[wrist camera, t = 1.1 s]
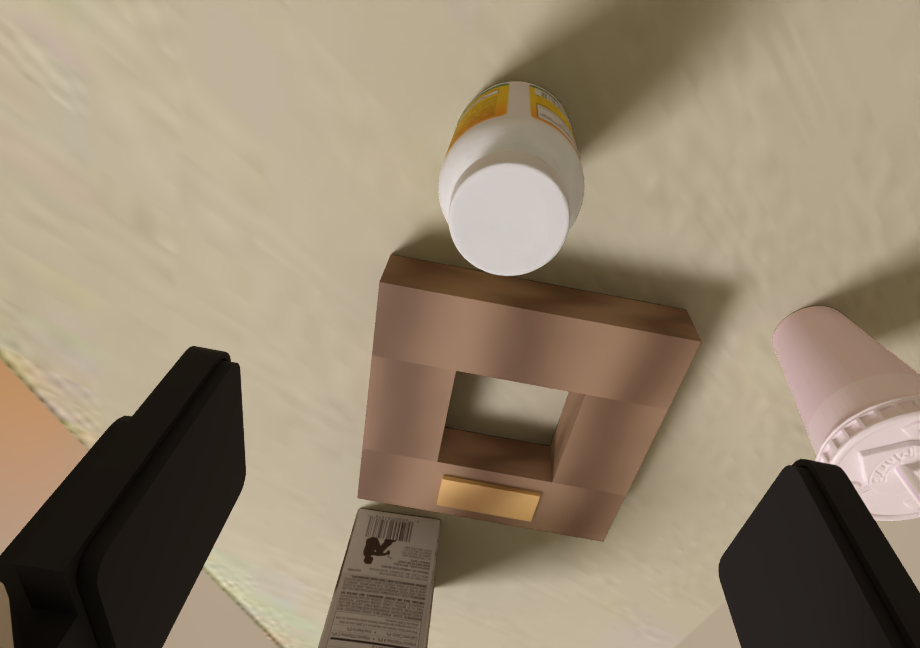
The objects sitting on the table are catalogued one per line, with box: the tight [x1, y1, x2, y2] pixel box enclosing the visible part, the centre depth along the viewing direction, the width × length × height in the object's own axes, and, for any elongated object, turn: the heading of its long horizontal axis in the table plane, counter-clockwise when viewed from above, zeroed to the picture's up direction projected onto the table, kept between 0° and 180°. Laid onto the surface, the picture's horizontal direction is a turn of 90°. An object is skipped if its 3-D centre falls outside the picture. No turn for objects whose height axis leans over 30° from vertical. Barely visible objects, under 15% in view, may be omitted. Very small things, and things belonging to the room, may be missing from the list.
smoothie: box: [773, 306, 920, 521], centre depth 25 cm, size 6×6×14 cm
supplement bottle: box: [439, 81, 584, 276], centre depth 23 cm, size 5×5×10 cm
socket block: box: [358, 255, 701, 542], centre depth 34 cm, size 16×16×3 cm
